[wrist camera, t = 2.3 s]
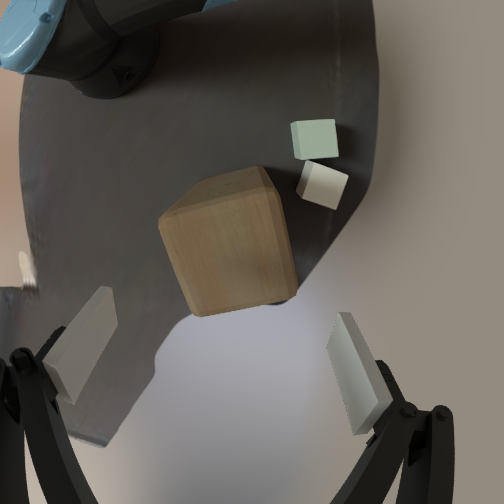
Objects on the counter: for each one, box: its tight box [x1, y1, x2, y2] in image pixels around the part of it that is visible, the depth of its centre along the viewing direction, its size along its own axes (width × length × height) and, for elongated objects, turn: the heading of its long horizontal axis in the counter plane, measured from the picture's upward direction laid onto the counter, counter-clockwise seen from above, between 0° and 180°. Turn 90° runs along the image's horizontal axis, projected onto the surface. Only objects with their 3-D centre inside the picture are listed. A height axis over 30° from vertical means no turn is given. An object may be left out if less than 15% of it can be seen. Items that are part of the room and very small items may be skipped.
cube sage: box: [291, 119, 339, 160], centre depth 34 cm, size 5×5×5 cm
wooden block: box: [159, 166, 298, 317], centre depth 31 cm, size 10×10×20 cm
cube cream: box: [296, 160, 349, 210], centre depth 37 cm, size 5×5×5 cm
